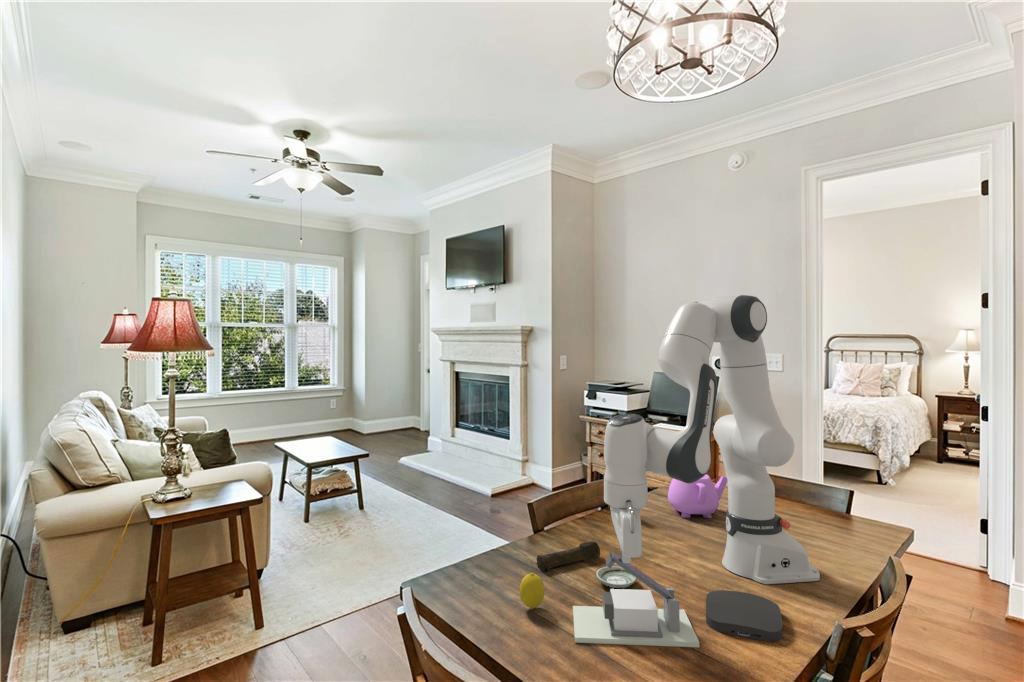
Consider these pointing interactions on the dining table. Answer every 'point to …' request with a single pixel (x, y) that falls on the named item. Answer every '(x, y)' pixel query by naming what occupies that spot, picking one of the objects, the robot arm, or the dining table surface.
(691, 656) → the dining table surface
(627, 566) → the strap
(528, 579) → the lemon
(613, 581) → the saucer
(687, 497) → the teapot
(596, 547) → the dark brown long bar
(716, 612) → the media streaming box
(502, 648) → the dining table surface
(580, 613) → the board
